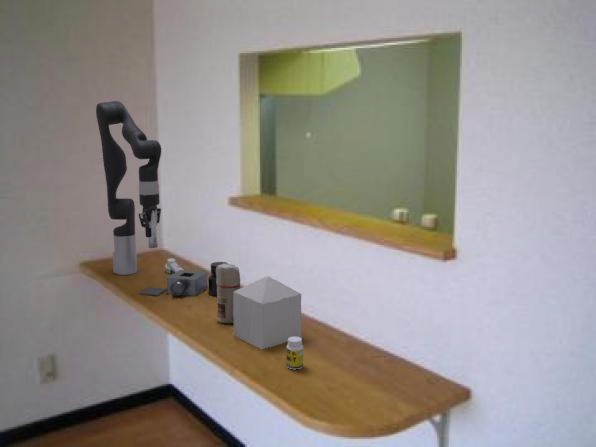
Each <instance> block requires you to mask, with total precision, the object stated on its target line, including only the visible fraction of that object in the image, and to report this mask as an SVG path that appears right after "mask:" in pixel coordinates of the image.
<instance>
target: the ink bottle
mask: <svg viewBox="0 0 596 447" xmlns="http://www.w3.org/2000/svg"><path fill="white" fill-rule="evenodd" d="M221 264H229V263H228V262H226V261H214V262H212V263H210V276H208V278H207V282H208V294H209V295H210V296H214V297H217V284H216V281H217V276H216V267H217V266H218V265H221Z"/></svg>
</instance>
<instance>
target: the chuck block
mask: <svg viewBox="0 0 596 447" xmlns="http://www.w3.org/2000/svg"><path fill="white" fill-rule="evenodd" d="M208 288H209V281H208V271H199V270H198V271H197V270H188V269H183V270H179V271H177V272H176V273H173V274H170V275H169V276H167V277H166V289H167V291H166V292H167V293H166V294H168V295H174V296H179V295H180V296H189V297H195V296H197V295H198V294H200V293H202V292H203V291H204V290H206V289H208Z"/></svg>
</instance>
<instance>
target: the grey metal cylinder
mask: <svg viewBox="0 0 596 447" xmlns="http://www.w3.org/2000/svg"><path fill="white" fill-rule="evenodd" d="M147 220H150V219H147ZM148 224H149V222H148ZM151 233H152V237H150V238H149V237H147V243H148V244H147V245H148V248H149V249H157V248H158V235H157V234H158V232H157V226H156V218H155V212H154V214H153V221H152V222H151Z"/></svg>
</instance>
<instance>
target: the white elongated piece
mask: <svg viewBox="0 0 596 447" xmlns="http://www.w3.org/2000/svg"><path fill="white" fill-rule="evenodd" d="M164 268H165V272H166V273H167V274H170V275H172V274H174V273H176V272H177V271H179V270H184V269H183V268H182V267H181V266H180V265H178V263H177V261H176V259H175V258H168V259H167V261H166V264H165V265H164Z"/></svg>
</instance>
